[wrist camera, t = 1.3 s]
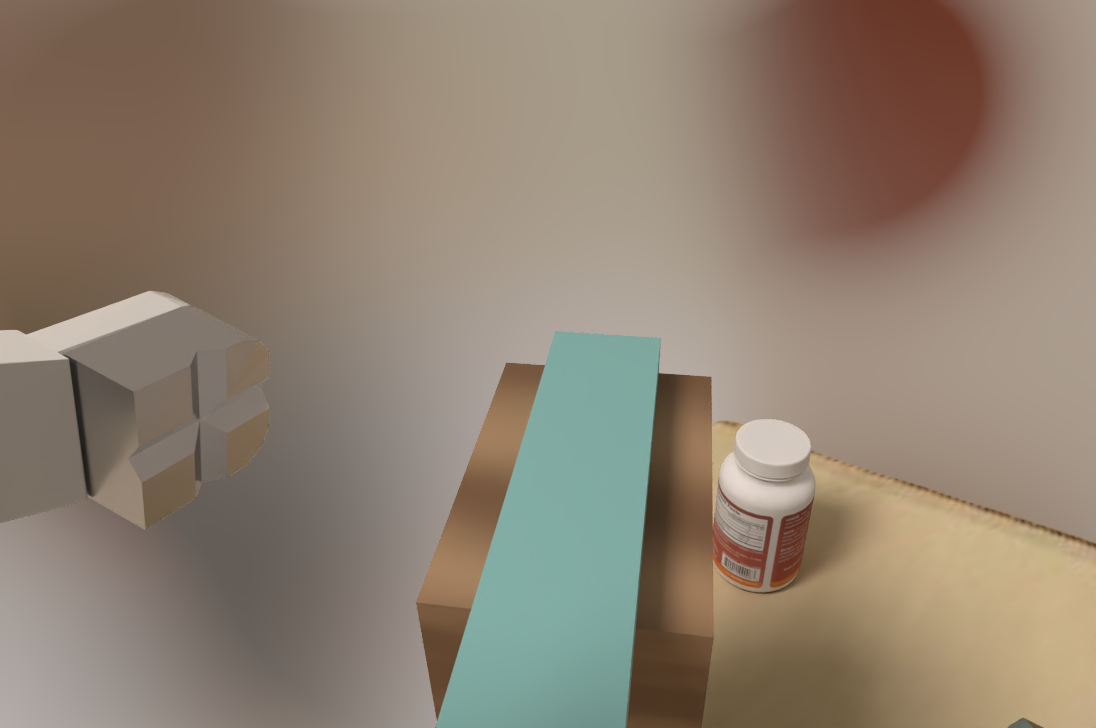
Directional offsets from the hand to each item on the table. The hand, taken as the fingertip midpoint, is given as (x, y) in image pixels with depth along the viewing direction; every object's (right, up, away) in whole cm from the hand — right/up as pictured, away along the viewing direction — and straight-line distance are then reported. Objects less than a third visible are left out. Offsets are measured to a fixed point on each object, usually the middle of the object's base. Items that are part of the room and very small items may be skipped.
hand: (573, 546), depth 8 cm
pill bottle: (+14, -12, +49) cm, 52 cm away
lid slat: (0, -4, +15) cm, 15 cm away
